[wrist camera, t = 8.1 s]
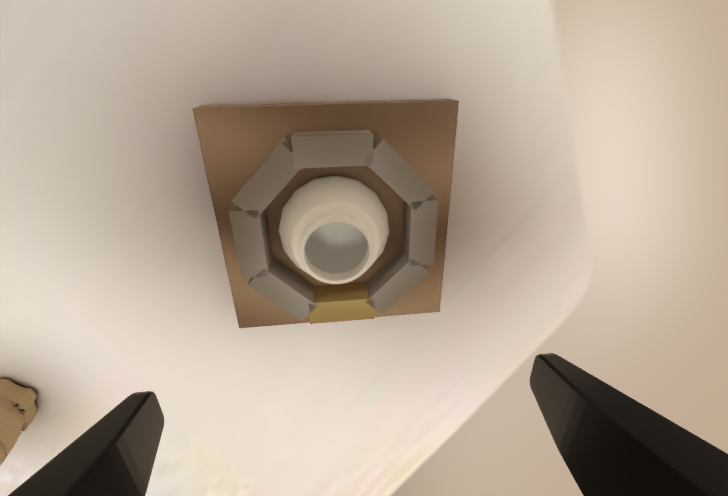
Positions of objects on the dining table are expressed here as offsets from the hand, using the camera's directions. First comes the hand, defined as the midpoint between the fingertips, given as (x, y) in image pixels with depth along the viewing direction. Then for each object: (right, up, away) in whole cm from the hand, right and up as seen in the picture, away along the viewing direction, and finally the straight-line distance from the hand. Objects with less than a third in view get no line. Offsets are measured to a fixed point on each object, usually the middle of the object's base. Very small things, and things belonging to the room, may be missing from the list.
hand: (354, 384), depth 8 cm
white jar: (-1, +4, +9) cm, 10 cm away
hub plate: (-1, +5, +10) cm, 11 cm away
